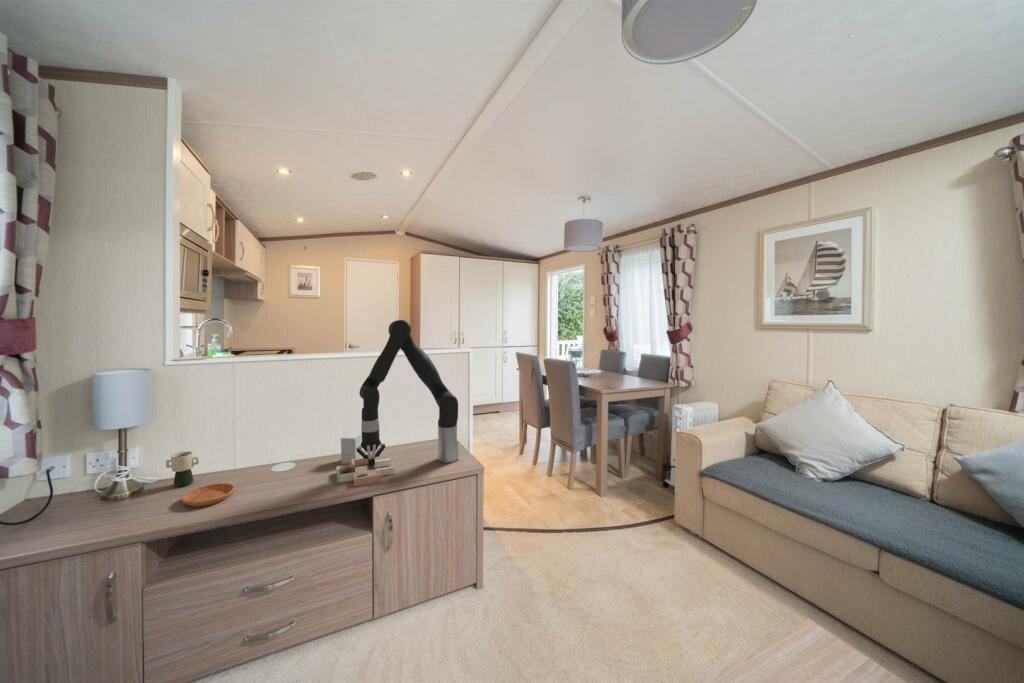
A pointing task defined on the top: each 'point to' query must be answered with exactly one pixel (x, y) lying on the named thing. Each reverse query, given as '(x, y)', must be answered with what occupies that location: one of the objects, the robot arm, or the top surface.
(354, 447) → the supplement box
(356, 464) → the corral
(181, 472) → the character mug
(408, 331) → the robot arm
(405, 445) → the top surface
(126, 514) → the top surface
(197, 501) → the saucer
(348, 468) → the walnut block
